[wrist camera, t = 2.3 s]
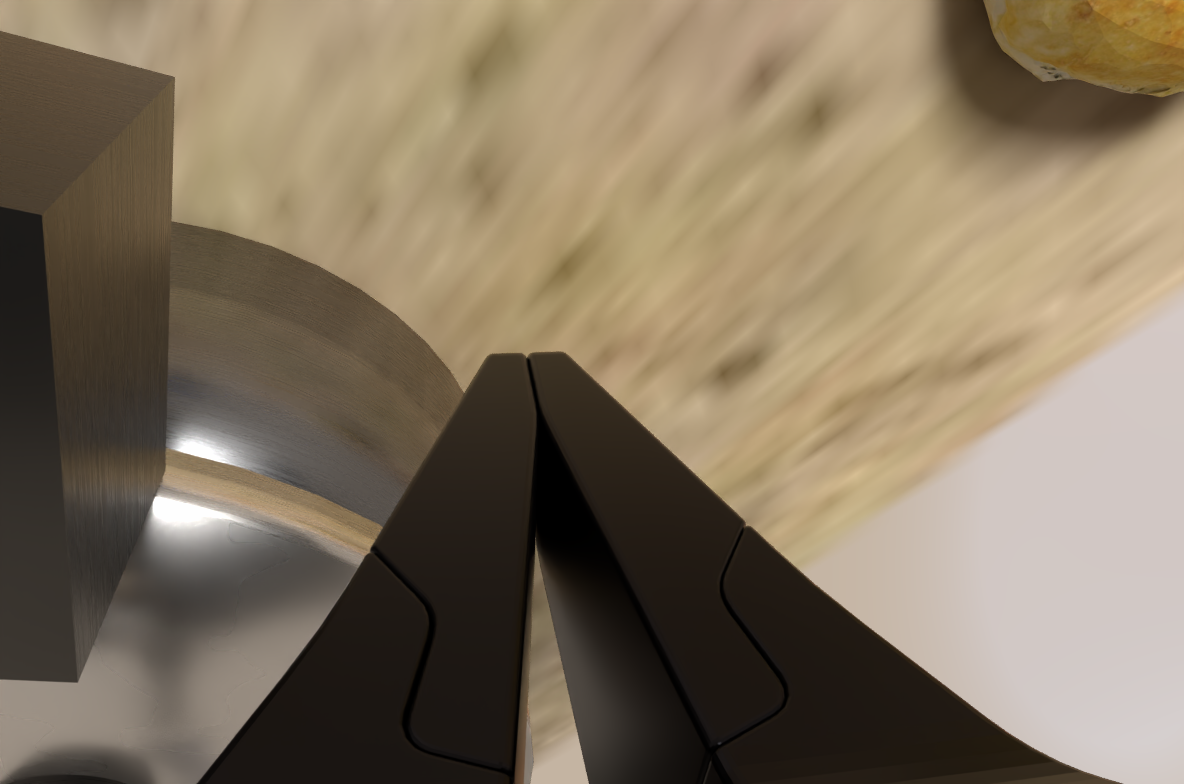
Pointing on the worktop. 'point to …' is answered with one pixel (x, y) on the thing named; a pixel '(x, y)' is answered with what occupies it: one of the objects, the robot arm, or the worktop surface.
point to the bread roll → (1096, 41)
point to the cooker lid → (125, 462)
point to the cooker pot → (297, 374)
